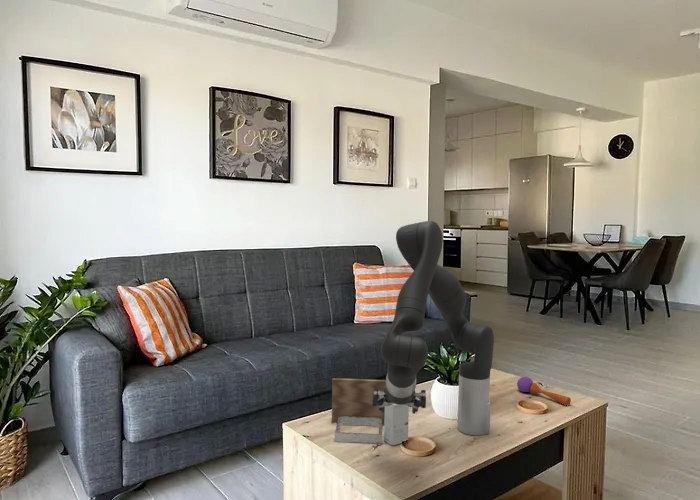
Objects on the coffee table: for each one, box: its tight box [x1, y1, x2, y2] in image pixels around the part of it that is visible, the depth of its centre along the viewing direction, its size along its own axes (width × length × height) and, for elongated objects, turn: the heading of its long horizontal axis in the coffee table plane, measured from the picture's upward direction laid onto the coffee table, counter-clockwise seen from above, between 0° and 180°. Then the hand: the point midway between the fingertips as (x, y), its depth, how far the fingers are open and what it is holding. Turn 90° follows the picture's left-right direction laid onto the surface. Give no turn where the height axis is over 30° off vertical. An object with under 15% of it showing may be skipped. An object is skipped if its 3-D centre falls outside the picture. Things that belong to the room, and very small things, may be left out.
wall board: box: [331, 377, 386, 426], centre depth 160 cm, size 18×4×14 cm, turn 87°
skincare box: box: [383, 404, 410, 446], centre depth 146 cm, size 6×4×12 cm
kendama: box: [516, 376, 572, 406], centre depth 184 cm, size 6×6×20 cm
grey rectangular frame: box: [334, 416, 383, 444], centre depth 151 cm, size 14×13×2 cm
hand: (398, 409), depth 139 cm, fingers open, 8 cm apart
